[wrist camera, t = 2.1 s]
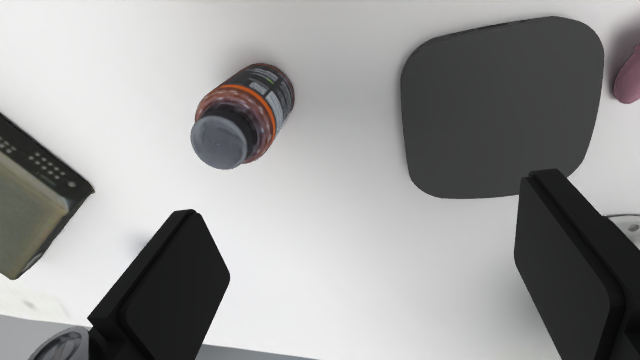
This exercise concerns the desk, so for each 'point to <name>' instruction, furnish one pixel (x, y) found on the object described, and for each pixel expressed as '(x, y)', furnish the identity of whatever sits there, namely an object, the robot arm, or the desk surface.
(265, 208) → the desk surface
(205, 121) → the supplement bottle
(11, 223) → the network switch
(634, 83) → the video game controller
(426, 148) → the media streaming box
